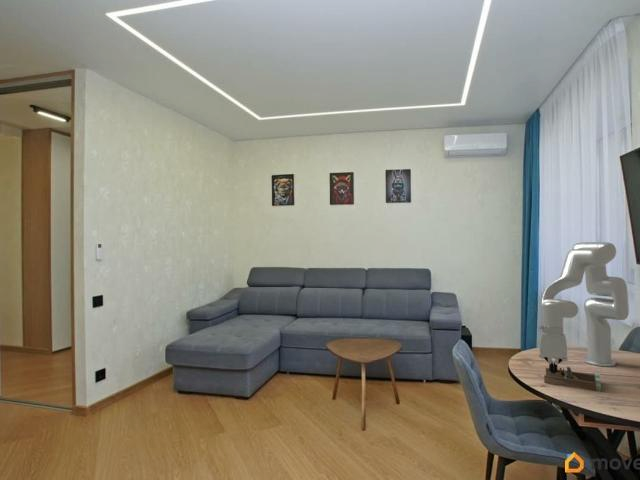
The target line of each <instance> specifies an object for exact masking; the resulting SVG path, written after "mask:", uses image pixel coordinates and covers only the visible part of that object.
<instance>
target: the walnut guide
mask: <svg viewBox="0 0 640 480" xmlns="http://www.w3.org/2000/svg"><path fill="white" fill-rule="evenodd" d="M564 370H565V369H564ZM562 371H563V369H562ZM565 371H567V370H565ZM571 371H572V370H571ZM543 375H544V376H543V378H544V380H543V381H544V383H545V384H549V385H556V386H563V387H568V388H569V387H570V388H576V389H581V390H588V391H595V392H602V385H601V384H602V383H601V376H600V372H596V371H595V372H594V373H588V372H587V373H586V372H581V371H572V375H574V376H575V377H577V378H578V379H579V380H576V379H571V378H565V376H564V378H563V377H562V375H561V373H560V372H559V371H557V372H556V373H555V374H551V371H549V367H545V374H543ZM564 375H565V373H564Z"/></svg>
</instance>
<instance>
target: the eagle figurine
mask: <svg viewBox="0 0 640 480" xmlns="http://www.w3.org/2000/svg"><path fill="white" fill-rule="evenodd" d="M566 369H567V370H566V371H565V368H562V367H559V369H558V368H557V371H559V372H560V373H561V375H562V377H563V378H564V376H565V378H571V379H576V380H579V379H578V378H577V377H575V376H574V375H572V369H571V367H570V366H566ZM562 370H563V371H562ZM564 373H565V375H564Z"/></svg>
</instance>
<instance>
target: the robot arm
mask: <svg viewBox="0 0 640 480" xmlns="http://www.w3.org/2000/svg"><path fill="white" fill-rule="evenodd" d="M616 255H617V248H616V246H615V245H614V244H613V243H611V242H605V241H603V242H596V241H595V242H591V241H587V242H585V241H584V242H578V243H575V244H573V246H572V248H571V250H569V251H567V253H566V256H565V260H564V263H563V266H562V269H561V273H560V275H559V277H558V278H557V279H555V280H554V281H552V282H551V283H550V284H549V285H548V286H547V287H546V288H545V290H544V291H543V294H542V297H541V302H540V310H541V312H542V325H541V326H538V329H539V330H541V331H542V332H540V335H539V336H540V337H539V351H538V352H539V354H538V357H539V358H540V359H544V360H545V361H546V362H547V363H548V366H549V367H548V368H549V371H551V374H555V373H556V372H557V369H558V365H559V364H561V363H562V362H568V361H569V358H568V344H567V339H566V334H564V319H566V318H567V319H572V318H574V317H576V316H577V314H578V313H579V306H578V304H577V303H576V302H574V301H571V300H565V299H559V298H557V299H556V298H555V297H556V296H557V295H558V294H559V293H561V292H562V291H565V290H568V289H571V288H574V287H578V286H579V285H581V284H582V282H583V279H584V277H585V279H584V280H585V288H586V292H587V293H588V294H590V295H593V296H599V297H589V298H587V299H586V300H585V301H584V303H583V310H584V314H585V318H586V338H587V339H586V340H587V341H586V345H587V346H586V347H587V348H586V349H587V351H586V352H587V356H585V357H584V358H583V361H584V363H587V364H589V365H593V366H597V367H614V366H616V361H615V360H613V359H612V328H611V325H610V323H609V322H608V320H613V321H614V320H615V321H625V320H626V319H628V317H629V313H630V312H629V308H630V307H629V295H628V293H629V291H628V285H627V283H626V281H625V280H624V278H622V277H618V276H608V275H607V274H608V273H607V266H606V265H607V264H609V263H610V262H612V261H613V260H614V258H616ZM604 297H611V298H604ZM607 319H608V320H607ZM552 359H554V362H553V361H552Z"/></svg>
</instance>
